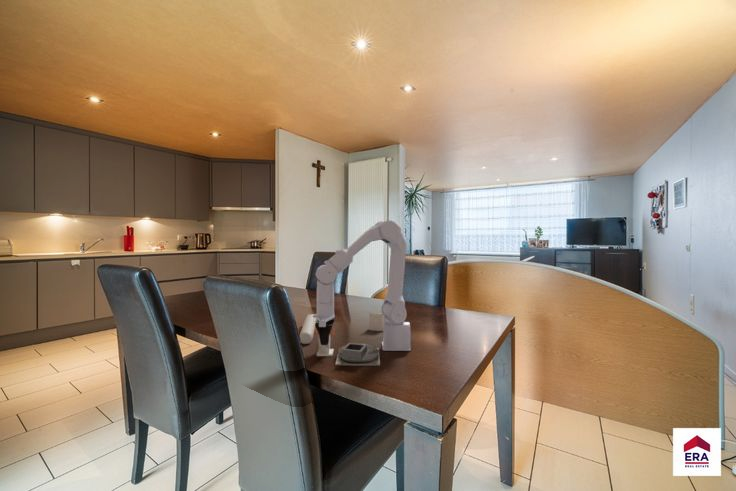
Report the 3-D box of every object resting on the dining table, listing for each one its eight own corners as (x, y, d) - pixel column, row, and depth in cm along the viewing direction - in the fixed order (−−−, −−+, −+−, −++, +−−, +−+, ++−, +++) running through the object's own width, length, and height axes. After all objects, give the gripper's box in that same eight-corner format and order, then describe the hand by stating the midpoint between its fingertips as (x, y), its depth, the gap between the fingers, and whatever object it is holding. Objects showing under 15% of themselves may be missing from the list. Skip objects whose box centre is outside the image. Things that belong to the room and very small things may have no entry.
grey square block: (370, 328, 133) (370, 311, 133) (386, 330, 132) (387, 312, 131) (368, 331, 130) (368, 313, 130) (385, 332, 128) (385, 314, 128)
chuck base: (378, 349, 108) (378, 348, 108) (380, 365, 94) (380, 364, 94) (339, 349, 108) (339, 347, 108) (335, 365, 94) (335, 363, 94)
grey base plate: (346, 345, 109) (346, 335, 109) (382, 349, 106) (382, 338, 105) (331, 360, 96) (331, 348, 96) (372, 365, 93) (372, 352, 92)
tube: (315, 334, 112) (318, 315, 137) (300, 330, 111) (306, 312, 136) (310, 348, 112) (314, 327, 137) (295, 344, 111) (302, 323, 136)
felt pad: (333, 350, 107) (333, 348, 106) (332, 356, 102) (332, 354, 101) (318, 350, 107) (318, 348, 106) (316, 356, 102) (316, 354, 101)
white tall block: (334, 349, 106) (334, 327, 105) (333, 353, 102) (333, 330, 102) (315, 349, 106) (315, 327, 105) (313, 353, 102) (313, 330, 102)
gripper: (316, 297, 111) (316, 335, 111) (309, 306, 96) (309, 350, 97) (336, 297, 111) (336, 335, 111) (332, 306, 96) (332, 350, 97)
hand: (325, 342), depth 104 cm, fingers closed on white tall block, 3 cm apart
